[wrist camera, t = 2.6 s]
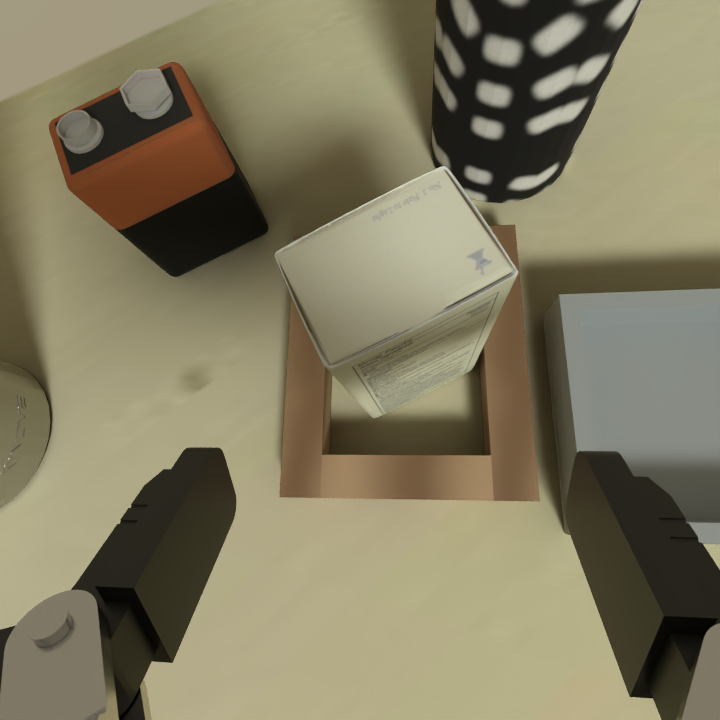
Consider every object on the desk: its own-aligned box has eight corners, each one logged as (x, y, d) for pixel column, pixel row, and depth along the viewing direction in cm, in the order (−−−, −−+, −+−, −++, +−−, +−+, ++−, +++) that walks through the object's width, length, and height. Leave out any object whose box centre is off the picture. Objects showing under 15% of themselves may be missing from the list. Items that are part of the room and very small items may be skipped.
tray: (564, 533, 22) (587, 540, 19) (542, 316, 24) (559, 294, 22) (822, 539, 20) (889, 548, 17) (766, 309, 23) (816, 284, 20)
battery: (272, 234, 28) (197, 103, 18) (174, 282, 28) (47, 177, 18) (248, 181, 29) (165, 34, 20) (153, 228, 29) (25, 103, 20)
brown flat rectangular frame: (290, 496, 24) (279, 497, 22) (302, 254, 27) (294, 236, 25) (529, 499, 22) (539, 501, 20) (507, 243, 26) (514, 224, 24)
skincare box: (436, 305, 25) (451, 154, 14) (476, 373, 24) (529, 270, 12) (336, 355, 25) (266, 246, 14) (370, 426, 24) (325, 371, 12)
